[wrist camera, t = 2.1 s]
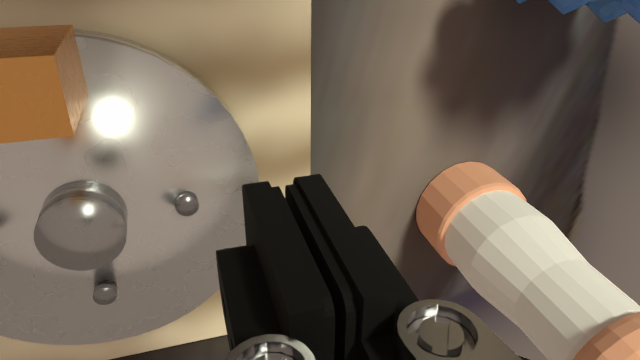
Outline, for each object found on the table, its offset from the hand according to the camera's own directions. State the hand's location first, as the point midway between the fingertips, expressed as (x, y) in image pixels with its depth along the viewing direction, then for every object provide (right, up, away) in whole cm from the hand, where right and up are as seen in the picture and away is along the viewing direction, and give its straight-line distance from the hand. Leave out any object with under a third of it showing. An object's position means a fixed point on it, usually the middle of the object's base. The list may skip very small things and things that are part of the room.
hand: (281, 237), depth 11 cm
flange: (-12, 0, +15) cm, 19 cm away
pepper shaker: (+11, 0, +27) cm, 30 cm away
